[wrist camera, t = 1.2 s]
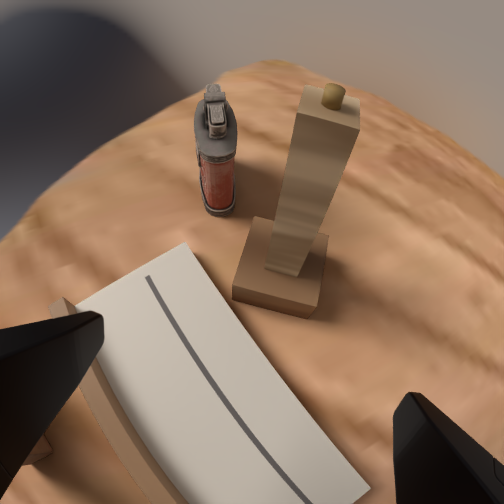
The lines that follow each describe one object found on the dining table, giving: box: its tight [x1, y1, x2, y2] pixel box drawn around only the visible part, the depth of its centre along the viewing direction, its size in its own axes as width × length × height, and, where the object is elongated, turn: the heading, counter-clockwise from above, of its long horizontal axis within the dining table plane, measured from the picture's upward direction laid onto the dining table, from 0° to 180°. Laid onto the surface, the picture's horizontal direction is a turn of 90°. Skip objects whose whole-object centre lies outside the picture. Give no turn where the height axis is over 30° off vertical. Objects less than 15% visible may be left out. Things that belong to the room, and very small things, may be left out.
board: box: [48, 242, 371, 504], centre depth 17 cm, size 24×12×4 cm, turn 35°
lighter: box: [194, 84, 237, 217], centre depth 25 cm, size 8×3×10 cm, turn 9°
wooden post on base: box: [232, 83, 360, 319], centre depth 17 cm, size 6×6×17 cm
